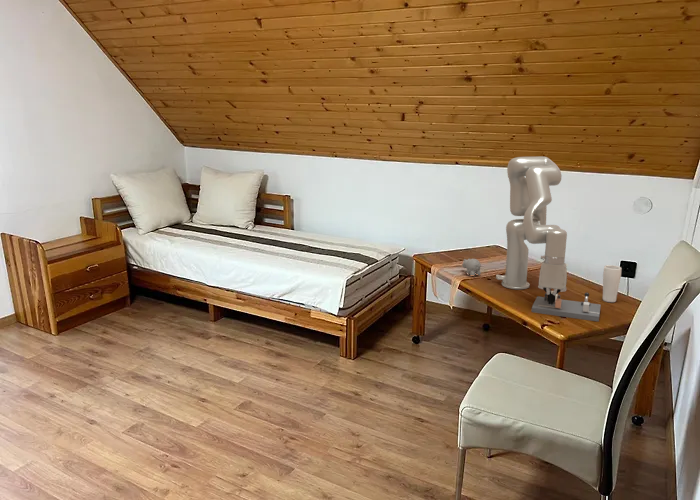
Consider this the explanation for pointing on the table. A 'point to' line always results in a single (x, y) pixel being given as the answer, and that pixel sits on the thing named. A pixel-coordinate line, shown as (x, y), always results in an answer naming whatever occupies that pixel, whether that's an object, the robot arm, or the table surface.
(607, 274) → the drinking glass
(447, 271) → the table surface
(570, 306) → the switch panel
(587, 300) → the toggle lever
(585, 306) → the slide paddle
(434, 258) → the table surface
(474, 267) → the toy rhinoceros
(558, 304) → the slide paddle
